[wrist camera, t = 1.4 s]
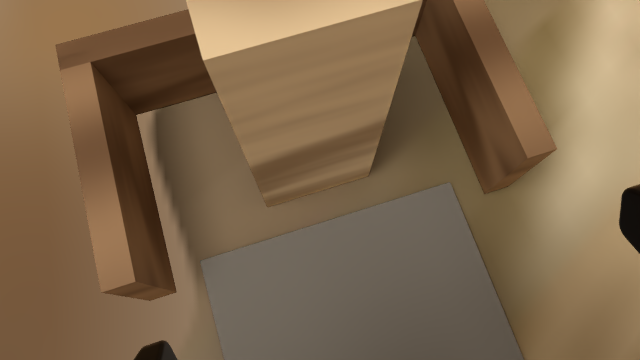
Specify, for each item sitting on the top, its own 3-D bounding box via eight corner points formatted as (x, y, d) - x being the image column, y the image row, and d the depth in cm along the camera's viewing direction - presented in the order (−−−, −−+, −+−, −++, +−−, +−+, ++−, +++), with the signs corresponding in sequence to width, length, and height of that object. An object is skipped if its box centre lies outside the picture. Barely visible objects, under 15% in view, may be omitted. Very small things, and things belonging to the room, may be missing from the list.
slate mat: (550, 428, 20) (553, 429, 20) (268, 532, 19) (267, 535, 19) (448, 183, 23) (450, 182, 23) (201, 261, 22) (199, 260, 22)
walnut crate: (507, 186, 23) (557, 148, 18) (150, 300, 21) (101, 292, 17) (428, 10, 26) (452, -62, 21) (107, 100, 24) (55, 44, 20)
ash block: (368, 176, 23) (423, -2, 11) (267, 207, 23) (202, 60, 10) (335, 86, 25) (350, -162, 12) (239, 114, 24) (153, -115, 12)
